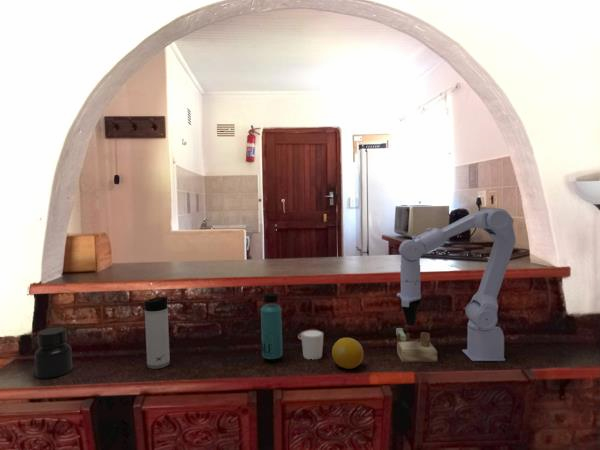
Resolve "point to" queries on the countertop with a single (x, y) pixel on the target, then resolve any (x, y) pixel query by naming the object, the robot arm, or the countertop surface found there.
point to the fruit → (347, 353)
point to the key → (401, 334)
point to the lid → (418, 344)
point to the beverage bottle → (271, 328)
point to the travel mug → (157, 332)
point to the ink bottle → (53, 353)
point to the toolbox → (415, 353)
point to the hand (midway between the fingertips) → (410, 324)
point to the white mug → (312, 344)
